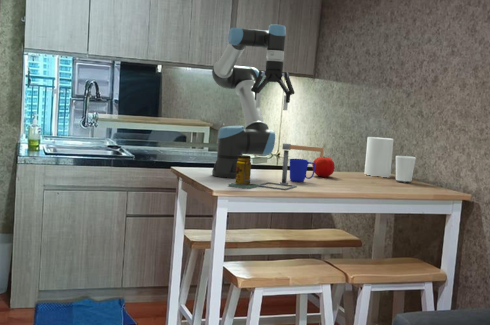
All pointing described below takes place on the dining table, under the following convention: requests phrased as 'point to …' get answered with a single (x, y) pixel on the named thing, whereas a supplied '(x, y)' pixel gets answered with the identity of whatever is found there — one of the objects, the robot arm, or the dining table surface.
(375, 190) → the dining table surface
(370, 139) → the canister
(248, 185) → the mat
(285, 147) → the tan bent bar
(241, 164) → the condiment
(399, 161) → the cup
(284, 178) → the post
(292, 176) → the mug
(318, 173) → the tomato
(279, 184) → the frame
